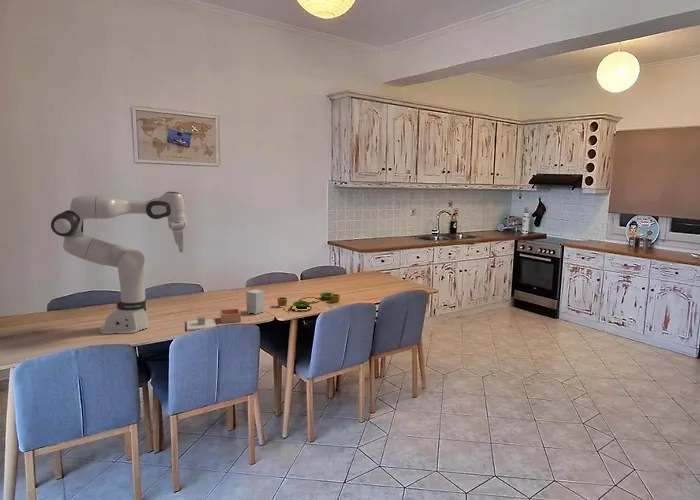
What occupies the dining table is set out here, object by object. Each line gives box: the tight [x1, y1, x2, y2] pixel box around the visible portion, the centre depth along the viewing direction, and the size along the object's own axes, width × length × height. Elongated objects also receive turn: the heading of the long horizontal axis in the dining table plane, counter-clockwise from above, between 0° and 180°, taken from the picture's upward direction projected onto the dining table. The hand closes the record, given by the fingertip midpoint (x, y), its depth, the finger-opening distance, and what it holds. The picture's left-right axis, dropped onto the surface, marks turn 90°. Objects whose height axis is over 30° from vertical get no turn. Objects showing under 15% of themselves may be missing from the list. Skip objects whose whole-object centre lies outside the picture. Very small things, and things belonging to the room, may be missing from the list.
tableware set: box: [276, 292, 344, 312], centre depth 285 cm, size 41×28×6 cm
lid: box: [186, 315, 216, 332], centre depth 238 cm, size 14×14×4 cm
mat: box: [184, 319, 219, 332], centre depth 238 cm, size 16×16×1 cm
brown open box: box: [219, 308, 242, 324], centre depth 248 cm, size 10×10×5 cm
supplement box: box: [245, 288, 265, 315], centre depth 264 cm, size 7×7×13 cm
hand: (181, 250), depth 235 cm, fingers open, 8 cm apart
